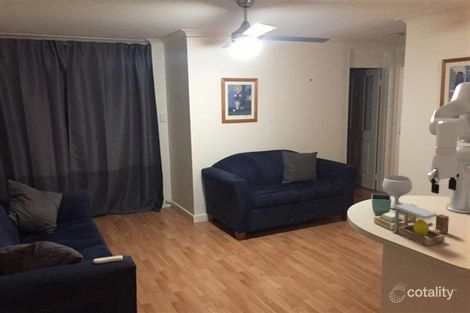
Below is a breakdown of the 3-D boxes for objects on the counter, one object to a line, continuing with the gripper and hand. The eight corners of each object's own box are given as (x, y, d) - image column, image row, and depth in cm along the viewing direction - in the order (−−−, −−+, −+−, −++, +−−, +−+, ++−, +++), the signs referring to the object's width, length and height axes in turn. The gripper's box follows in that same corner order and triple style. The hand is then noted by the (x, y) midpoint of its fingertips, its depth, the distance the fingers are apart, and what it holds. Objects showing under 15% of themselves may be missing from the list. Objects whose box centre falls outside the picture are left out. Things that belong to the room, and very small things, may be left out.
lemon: (423, 234, 160) (424, 216, 159) (430, 239, 155) (431, 221, 153) (410, 235, 160) (411, 217, 158) (417, 240, 154) (418, 222, 153)
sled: (403, 215, 182) (404, 201, 181) (422, 223, 172) (423, 208, 171) (374, 222, 176) (374, 207, 174) (391, 230, 166) (392, 215, 164)
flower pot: (391, 218, 180) (391, 200, 179) (371, 217, 183) (371, 199, 182) (390, 212, 189) (390, 194, 187) (371, 211, 191) (371, 193, 190)
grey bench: (430, 223, 171) (431, 198, 169) (461, 235, 158) (463, 207, 155) (392, 233, 163) (393, 206, 161) (421, 245, 150) (422, 216, 147)
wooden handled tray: (429, 225, 169) (430, 210, 168) (460, 237, 155) (461, 221, 154) (398, 233, 162) (398, 217, 161) (427, 246, 149) (428, 229, 147)
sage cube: (389, 222, 176) (389, 212, 175) (398, 225, 172) (399, 214, 171) (382, 224, 173) (382, 214, 172) (391, 228, 169) (392, 217, 168)
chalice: (402, 201, 204) (403, 174, 201) (416, 209, 190) (418, 180, 187) (377, 203, 203) (377, 175, 200) (389, 211, 189) (390, 182, 187)
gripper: (452, 147, 162) (450, 186, 165) (422, 151, 155) (420, 192, 158) (469, 149, 155) (466, 190, 158) (438, 154, 148) (436, 196, 152)
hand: (443, 191), depth 158 cm, fingers open, 9 cm apart
